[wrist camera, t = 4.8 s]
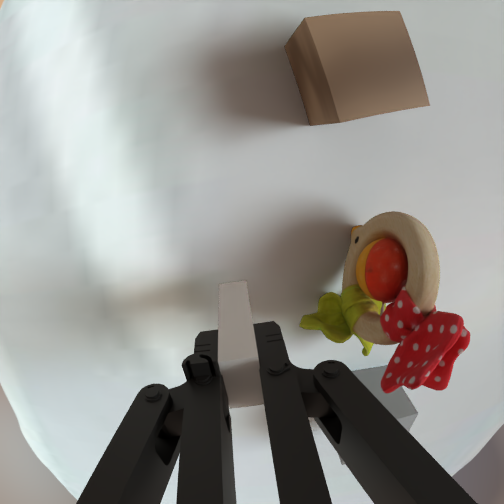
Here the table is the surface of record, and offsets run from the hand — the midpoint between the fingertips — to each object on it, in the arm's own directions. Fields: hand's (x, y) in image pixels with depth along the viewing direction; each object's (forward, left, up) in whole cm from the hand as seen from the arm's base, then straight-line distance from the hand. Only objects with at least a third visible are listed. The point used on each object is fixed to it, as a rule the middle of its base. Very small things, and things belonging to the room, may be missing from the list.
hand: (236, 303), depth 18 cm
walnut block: (-12, +8, -3) cm, 14 cm away
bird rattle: (0, +8, -3) cm, 8 cm away
